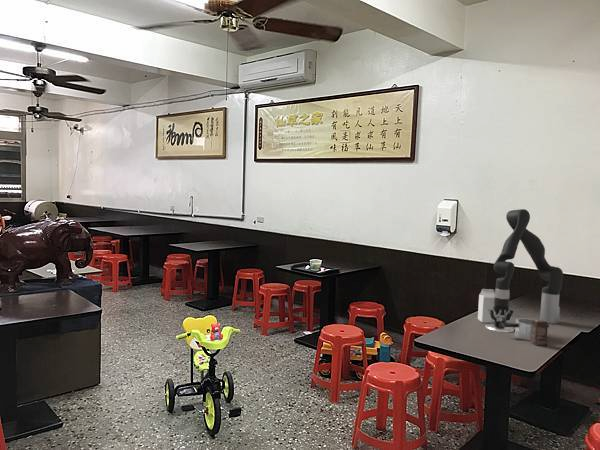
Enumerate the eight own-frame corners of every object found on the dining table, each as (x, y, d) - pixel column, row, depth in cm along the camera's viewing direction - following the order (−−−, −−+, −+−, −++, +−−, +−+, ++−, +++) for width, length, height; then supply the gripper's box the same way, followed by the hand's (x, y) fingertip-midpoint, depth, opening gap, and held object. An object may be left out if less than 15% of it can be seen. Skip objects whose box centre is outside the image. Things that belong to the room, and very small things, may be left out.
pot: (538, 332, 252) (539, 318, 251) (554, 341, 238) (556, 326, 237) (495, 332, 249) (496, 318, 249) (509, 341, 235) (510, 325, 235)
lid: (504, 324, 266) (505, 317, 266) (520, 333, 251) (520, 325, 251) (480, 324, 264) (480, 317, 264) (494, 333, 249) (494, 325, 249)
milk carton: (494, 323, 268) (496, 290, 267) (481, 322, 268) (484, 290, 267) (489, 319, 275) (491, 288, 274) (477, 319, 275) (479, 287, 274)
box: (541, 342, 234) (543, 319, 233) (546, 345, 230) (548, 322, 229) (530, 342, 234) (531, 319, 233) (535, 345, 229) (537, 321, 228)
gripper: (510, 295, 261) (508, 325, 262) (486, 295, 260) (484, 325, 261) (517, 298, 253) (515, 329, 255) (493, 298, 252) (491, 329, 253)
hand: (499, 327), depth 258 cm, fingers closed on lid, 3 cm apart
